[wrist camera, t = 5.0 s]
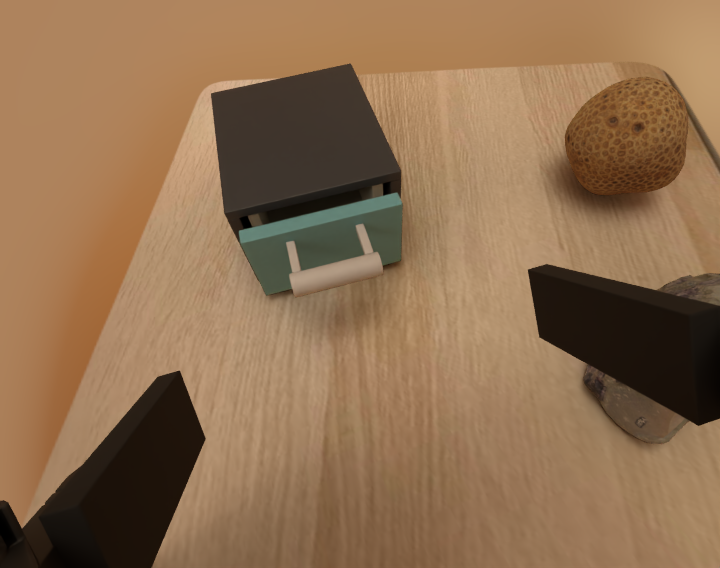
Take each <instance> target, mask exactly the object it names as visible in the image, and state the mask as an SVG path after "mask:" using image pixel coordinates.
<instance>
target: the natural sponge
mask: <svg viewBox="0 0 720 568" xmlns="http://www.w3.org/2000/svg"><path fill="white" fill-rule="evenodd" d="M687 133H688V114H687V109H686V106H685V103H684V101H683V98H682V97H681V96H680V94H679V93H678V92H677V91H676V90H675V89H674V88H673V87H672V86H671V85H669V84H667V83H666V82H663V81H661V80H658V79H654V78H649V77H639V78H631V79H627V80H624V81H621V82H618V83H616V84H613V85H611V86H609V87H607V88H606V89H604V90H603V91H601V92H600V93H598V94H597V95H595V96H594V97H593V98H591V99H590V100H589V101H588V102H587V103H585V104H584V106H583V107H582V108H581V109H580V110H579V112H578V113H577V114H576V115H575V117H574V118H573V119H572V121H571V122H570V124H569V126H568V128H567V130H566V134H565V146H566V153H567V156H568V159H569V162H570V164H571V167H572V170H573V172H574V174H575V176H576V178H577V180H578V181H579V183H580V184H581V185H582V186H583V187H584V188H585V189H587V190H588V191H590V192H591V193H594V194H598V195H614V194H620V193H632V192H649V191H653V190H657V189H660V188H663V187H665V186H667V185H668V184H669V183H671V182H672V181H673V180H674V179H675V178H676V177H677V176H678V174H679V173H680V171H681V169H682V167H683V165H684V161H685V156H686V139H687Z"/></svg>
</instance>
